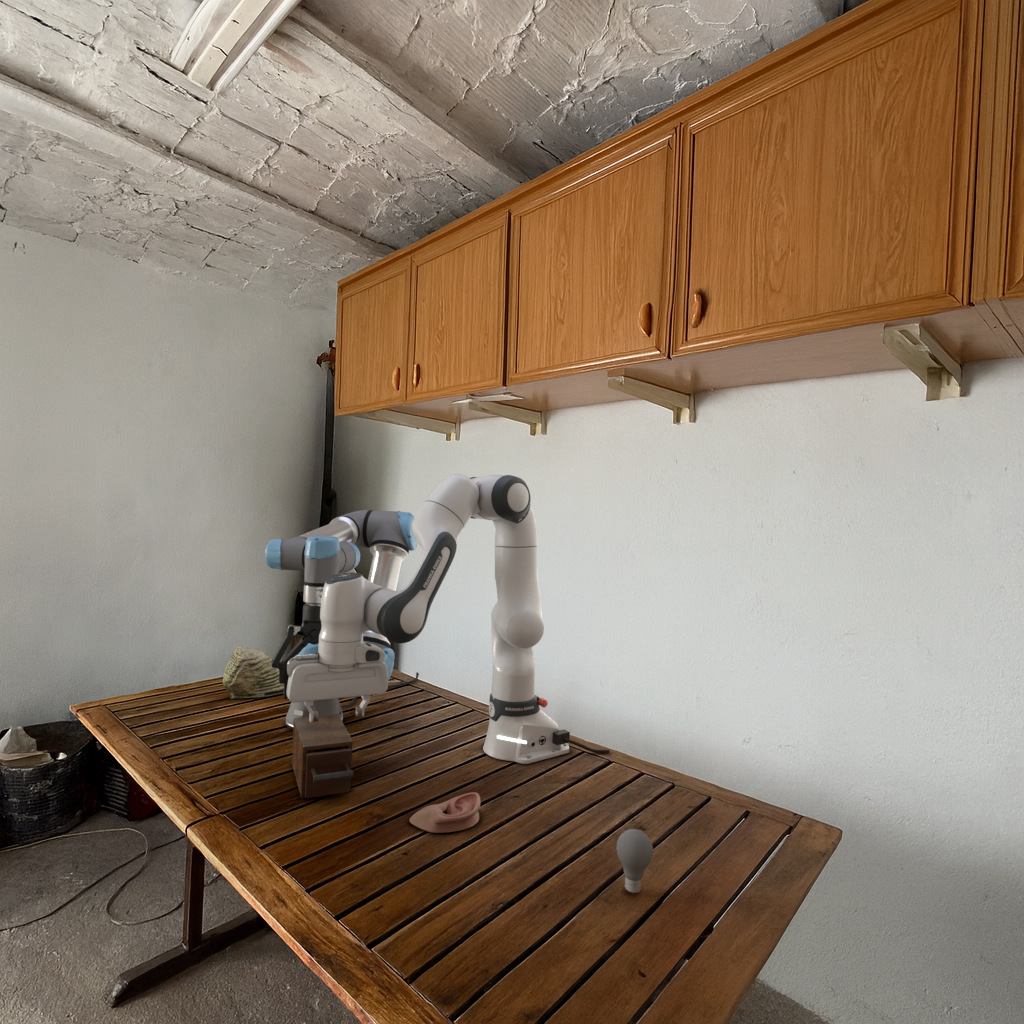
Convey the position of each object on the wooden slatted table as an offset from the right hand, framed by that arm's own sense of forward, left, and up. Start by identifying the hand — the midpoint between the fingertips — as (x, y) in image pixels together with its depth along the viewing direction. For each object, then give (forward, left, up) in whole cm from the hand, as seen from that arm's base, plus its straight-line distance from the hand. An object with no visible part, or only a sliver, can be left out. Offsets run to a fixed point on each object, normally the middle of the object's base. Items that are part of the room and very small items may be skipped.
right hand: (336, 718), depth 131 cm
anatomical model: (-19, +15, -18) cm, 30 cm away
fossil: (+11, -79, -18) cm, 82 cm away
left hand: (+2, -18, 0) cm, 18 cm away
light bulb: (-41, +48, -18) cm, 65 cm away
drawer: (+1, -7, -17) cm, 18 cm away
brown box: (+1, -13, -18) cm, 22 cm away
